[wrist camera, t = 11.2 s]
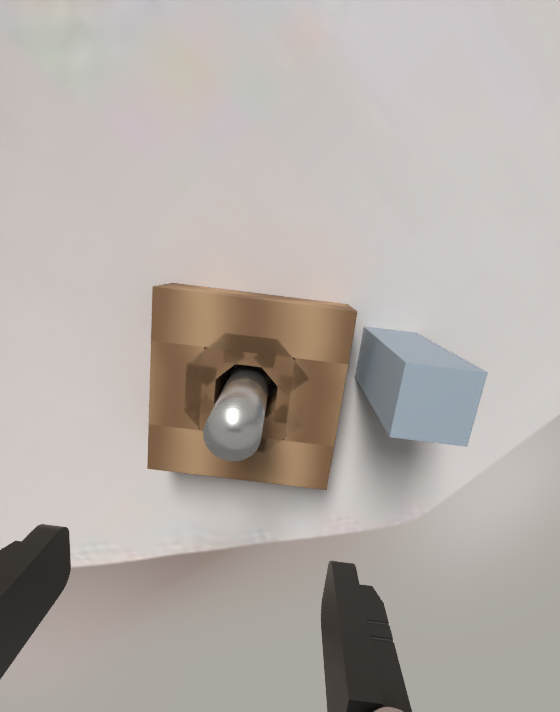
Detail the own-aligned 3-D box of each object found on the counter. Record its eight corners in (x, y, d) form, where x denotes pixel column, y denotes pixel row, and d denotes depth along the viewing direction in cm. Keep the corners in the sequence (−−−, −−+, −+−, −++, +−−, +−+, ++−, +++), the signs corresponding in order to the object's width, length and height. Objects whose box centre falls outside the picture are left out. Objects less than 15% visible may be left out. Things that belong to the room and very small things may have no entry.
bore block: (347, 304, 27) (357, 311, 23) (321, 460, 30) (326, 489, 26) (172, 283, 27) (152, 286, 23) (165, 441, 30) (147, 468, 26)
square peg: (416, 333, 27) (487, 372, 17) (405, 383, 28) (467, 446, 18) (363, 326, 27) (405, 362, 17) (354, 377, 28) (389, 437, 18)
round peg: (272, 360, 28) (264, 412, 18) (268, 396, 29) (257, 464, 19) (234, 355, 28) (205, 404, 18) (231, 391, 29) (201, 457, 19)
